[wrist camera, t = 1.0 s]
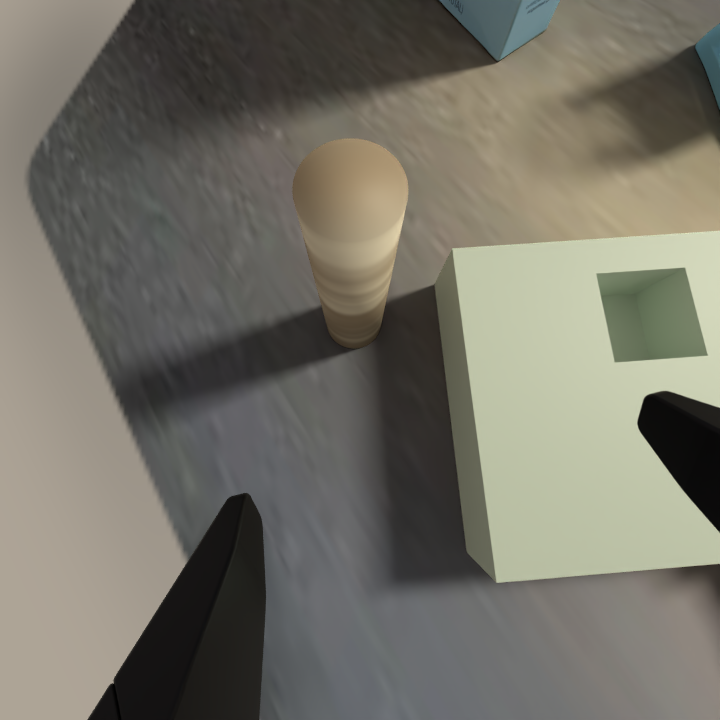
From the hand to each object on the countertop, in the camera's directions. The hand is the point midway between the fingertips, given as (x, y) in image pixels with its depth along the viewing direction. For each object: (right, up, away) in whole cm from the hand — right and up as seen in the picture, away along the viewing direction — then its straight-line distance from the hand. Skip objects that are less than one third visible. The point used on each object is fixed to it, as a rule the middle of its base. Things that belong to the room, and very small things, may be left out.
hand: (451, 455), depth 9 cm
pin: (-2, +4, +14) cm, 15 cm away
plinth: (+12, 0, +14) cm, 18 cm away
